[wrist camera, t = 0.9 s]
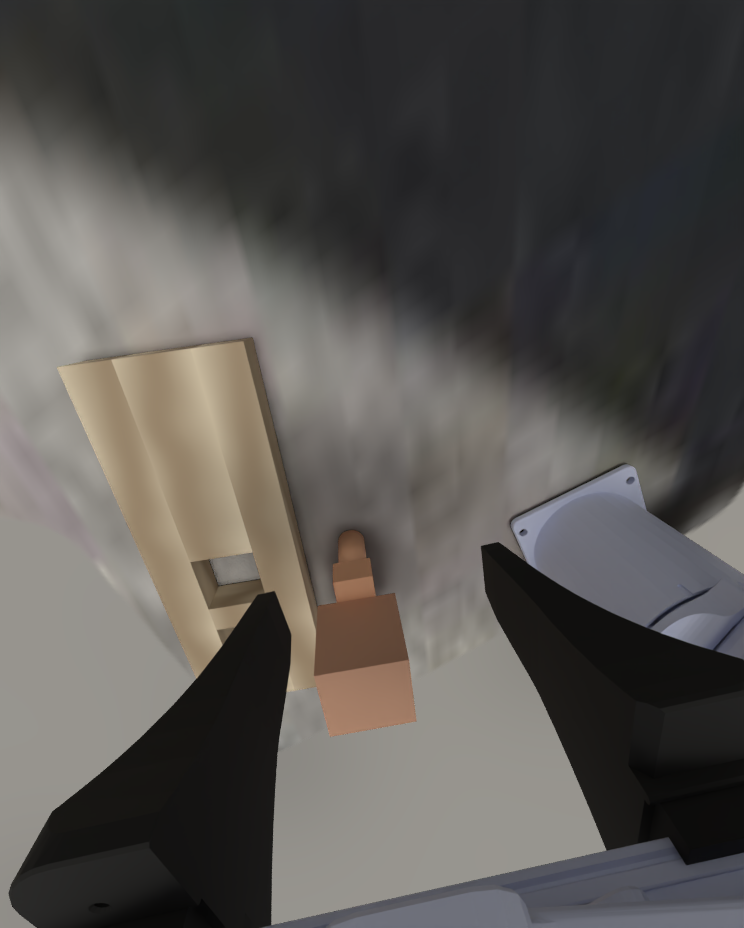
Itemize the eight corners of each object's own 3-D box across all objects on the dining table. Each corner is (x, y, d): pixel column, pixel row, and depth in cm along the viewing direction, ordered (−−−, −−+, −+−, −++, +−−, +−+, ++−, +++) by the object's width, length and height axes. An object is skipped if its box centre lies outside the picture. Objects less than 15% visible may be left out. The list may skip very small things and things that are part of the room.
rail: (252, 337, 18) (243, 341, 16) (329, 658, 27) (329, 684, 25) (84, 360, 18) (56, 367, 16) (217, 677, 27) (208, 705, 25)
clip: (381, 525, 23) (406, 637, 15) (392, 607, 26) (418, 739, 18) (316, 535, 23) (307, 653, 15) (334, 617, 26) (334, 754, 18)
